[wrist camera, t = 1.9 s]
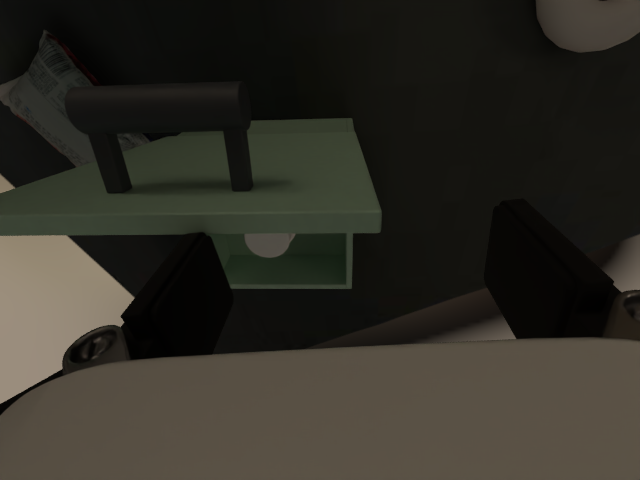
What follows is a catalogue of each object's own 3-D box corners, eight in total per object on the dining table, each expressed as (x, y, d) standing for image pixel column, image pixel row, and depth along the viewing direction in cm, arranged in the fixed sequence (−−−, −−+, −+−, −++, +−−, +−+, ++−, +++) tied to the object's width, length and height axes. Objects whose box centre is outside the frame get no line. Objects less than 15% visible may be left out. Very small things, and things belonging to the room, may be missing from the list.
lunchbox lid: (381, 234, 11) (390, 76, 9) (-55, 236, 12) (-141, 93, 9) (355, 142, 26) (356, 77, 24) (169, 146, 27) (154, 84, 25)
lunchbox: (349, 255, 40) (351, 288, 35) (227, 256, 41) (212, 288, 36) (352, 117, 31) (355, 135, 26) (196, 122, 32) (170, 139, 27)
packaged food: (115, 183, 36) (86, 202, 32) (10, 85, 31) (-40, 93, 27) (168, 138, 33) (144, 153, 29) (62, 23, 28) (16, 21, 24)
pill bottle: (300, 219, 37) (292, 264, 30) (259, 215, 37) (241, 259, 30) (304, 180, 34) (295, 220, 27) (259, 175, 34) (239, 213, 27)
